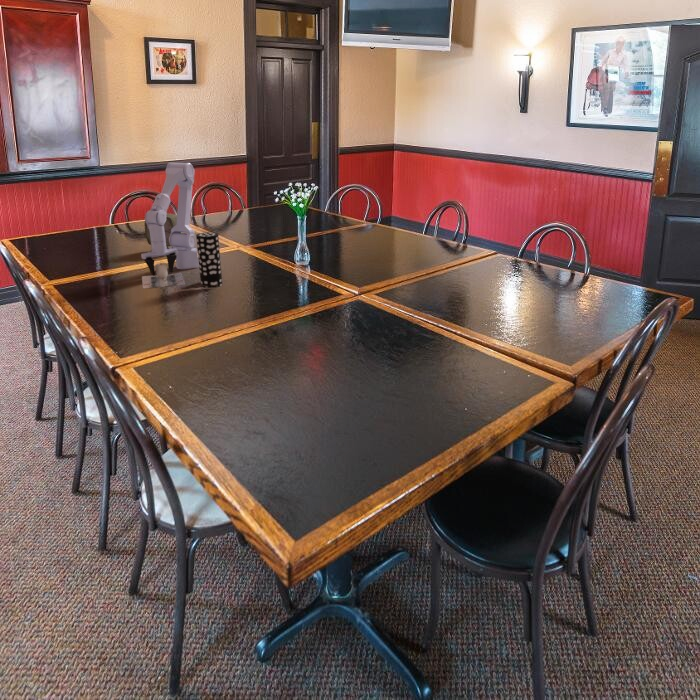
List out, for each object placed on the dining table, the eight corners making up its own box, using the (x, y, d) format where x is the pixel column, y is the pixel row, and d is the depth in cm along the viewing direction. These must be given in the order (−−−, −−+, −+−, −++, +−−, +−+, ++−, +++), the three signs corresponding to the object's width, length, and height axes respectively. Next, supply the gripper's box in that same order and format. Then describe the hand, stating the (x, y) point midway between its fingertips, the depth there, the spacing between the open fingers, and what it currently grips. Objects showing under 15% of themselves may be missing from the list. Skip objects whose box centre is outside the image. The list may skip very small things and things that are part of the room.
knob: (168, 277, 267) (166, 264, 265) (157, 278, 266) (155, 265, 264) (167, 273, 272) (166, 261, 270) (156, 274, 271) (154, 262, 269)
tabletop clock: (147, 253, 310) (141, 199, 300) (156, 249, 318) (149, 196, 309) (176, 254, 307) (170, 200, 298) (184, 250, 316) (179, 197, 306)
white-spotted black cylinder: (226, 282, 262) (222, 233, 255) (215, 288, 255) (211, 237, 247) (207, 281, 265) (203, 231, 257) (196, 286, 257) (191, 236, 250)
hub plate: (182, 275, 273) (181, 269, 272) (185, 286, 257) (185, 280, 257) (142, 278, 269) (141, 272, 268) (143, 290, 253) (142, 284, 252)
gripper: (170, 236, 270) (174, 268, 275) (136, 241, 261) (141, 274, 266) (178, 239, 265) (181, 271, 270) (143, 244, 256) (148, 278, 261)
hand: (162, 273), depth 268 cm, fingers open, 7 cm apart
